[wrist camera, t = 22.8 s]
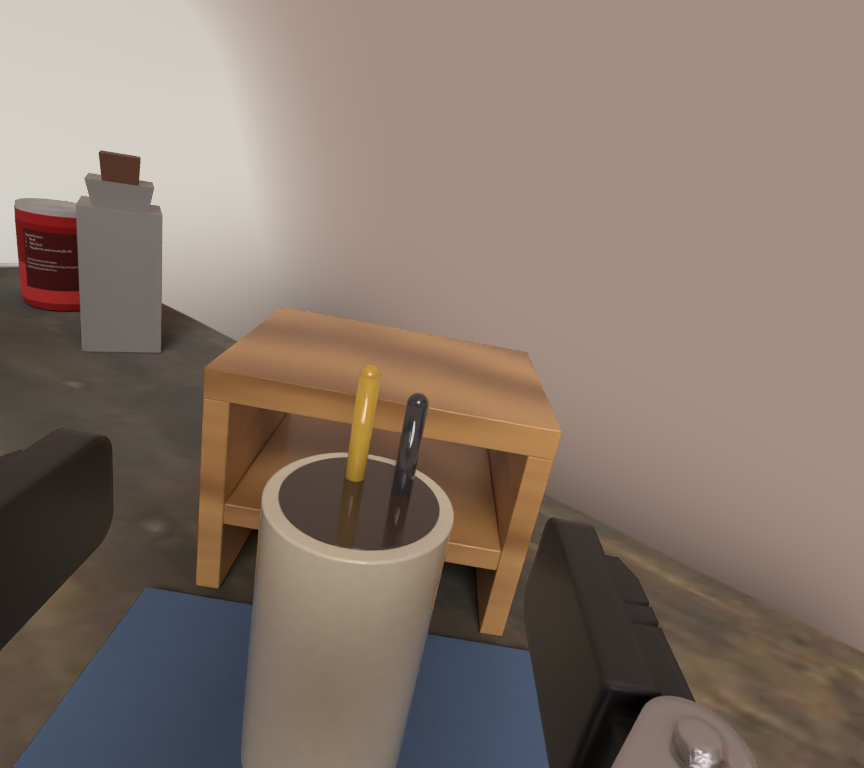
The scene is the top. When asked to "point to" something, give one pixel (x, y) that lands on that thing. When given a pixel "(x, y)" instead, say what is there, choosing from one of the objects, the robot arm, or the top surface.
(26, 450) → the robot arm
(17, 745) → the top surface
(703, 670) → the top surface
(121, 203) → the perfume bottle
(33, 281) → the canned food
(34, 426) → the top surface
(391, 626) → the holder
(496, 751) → the mat
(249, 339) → the wooden shelf box
